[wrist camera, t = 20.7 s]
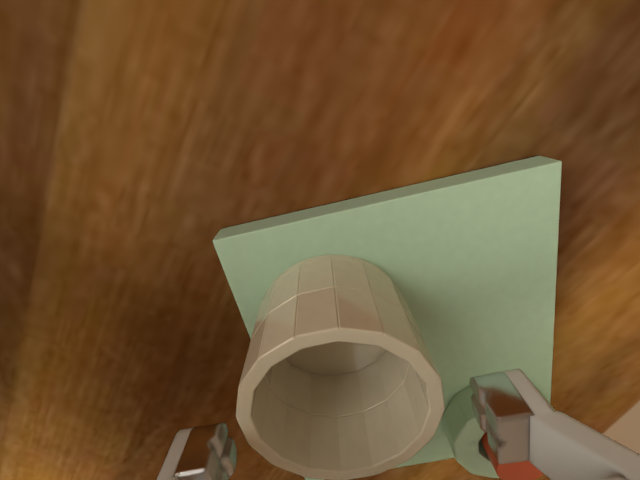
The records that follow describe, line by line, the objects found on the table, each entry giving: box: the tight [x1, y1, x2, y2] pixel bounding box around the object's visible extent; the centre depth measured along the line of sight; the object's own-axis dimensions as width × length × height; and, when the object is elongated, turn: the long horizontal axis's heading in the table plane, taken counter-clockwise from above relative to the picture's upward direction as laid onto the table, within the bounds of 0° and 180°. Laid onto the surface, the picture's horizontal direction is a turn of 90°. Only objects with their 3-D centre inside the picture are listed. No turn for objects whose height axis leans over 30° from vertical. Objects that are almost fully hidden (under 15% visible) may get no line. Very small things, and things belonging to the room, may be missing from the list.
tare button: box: [482, 432, 543, 480], centre depth 16 cm, size 2×2×2 cm
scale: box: [212, 156, 562, 480], centre depth 16 cm, size 16×14×3 cm
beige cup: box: [236, 254, 445, 480], centre depth 13 cm, size 7×7×5 cm
